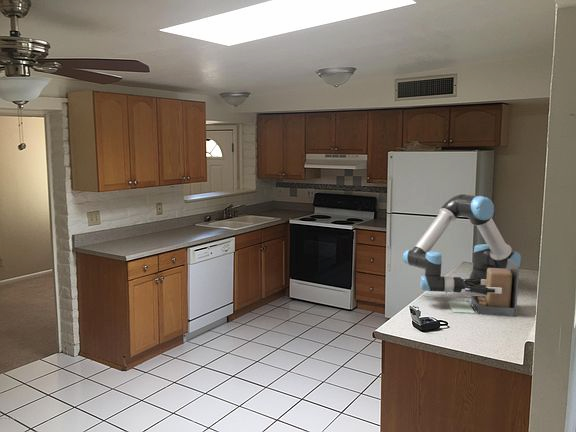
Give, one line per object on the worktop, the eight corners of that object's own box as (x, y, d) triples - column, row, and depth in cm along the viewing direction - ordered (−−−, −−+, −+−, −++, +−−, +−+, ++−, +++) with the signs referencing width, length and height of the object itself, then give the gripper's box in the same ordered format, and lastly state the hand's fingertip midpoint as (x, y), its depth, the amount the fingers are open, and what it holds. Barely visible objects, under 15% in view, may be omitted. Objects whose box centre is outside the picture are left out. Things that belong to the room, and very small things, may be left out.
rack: (470, 303, 256) (473, 257, 252) (506, 304, 254) (509, 258, 250) (478, 314, 239) (481, 265, 236) (515, 316, 237) (519, 267, 233)
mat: (447, 302, 257) (447, 301, 257) (468, 303, 256) (468, 302, 256) (453, 312, 242) (453, 311, 242) (474, 313, 240) (474, 312, 240)
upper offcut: (477, 301, 253) (477, 296, 252) (484, 301, 252) (484, 297, 251) (478, 308, 242) (479, 303, 242) (486, 308, 241) (486, 304, 241)
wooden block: (510, 314, 240) (513, 273, 237) (487, 312, 242) (490, 272, 239) (505, 307, 250) (508, 268, 247) (484, 305, 252) (486, 267, 249)
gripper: (448, 284, 260) (491, 286, 257) (456, 299, 236) (504, 302, 232) (449, 270, 259) (492, 272, 256) (457, 284, 235) (505, 286, 231)
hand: (498, 286), depth 244 cm, fingers open, 13 cm apart
